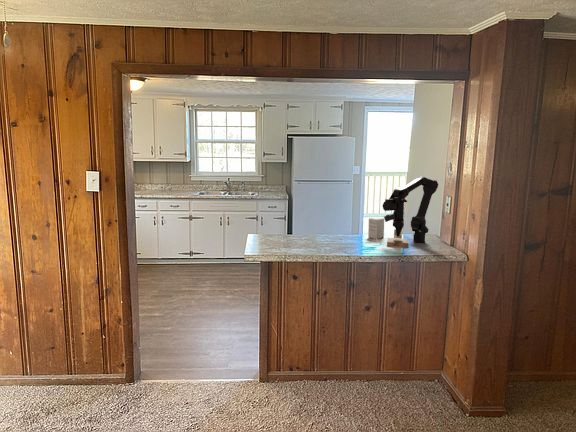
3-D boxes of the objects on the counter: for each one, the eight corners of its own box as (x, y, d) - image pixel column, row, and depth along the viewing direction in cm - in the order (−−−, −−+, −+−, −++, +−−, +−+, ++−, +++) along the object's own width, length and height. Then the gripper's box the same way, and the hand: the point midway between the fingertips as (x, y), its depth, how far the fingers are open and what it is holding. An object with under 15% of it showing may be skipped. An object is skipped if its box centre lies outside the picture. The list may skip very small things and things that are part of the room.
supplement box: (375, 235, 277) (375, 217, 275) (384, 237, 271) (384, 218, 269) (367, 237, 272) (368, 218, 270) (376, 238, 266) (377, 219, 264)
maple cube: (401, 237, 251) (402, 229, 250) (401, 238, 246) (401, 231, 246) (394, 236, 252) (394, 229, 251) (393, 238, 247) (394, 230, 247)
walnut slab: (407, 243, 254) (407, 239, 253) (407, 248, 242) (408, 243, 242) (387, 242, 257) (387, 238, 257) (386, 247, 246) (387, 242, 245)
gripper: (385, 207, 258) (384, 232, 260) (384, 211, 240) (383, 238, 242) (404, 208, 255) (403, 233, 257) (404, 212, 237) (403, 239, 239)
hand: (397, 235), depth 249 cm, fingers closed on maple cube, 4 cm apart
